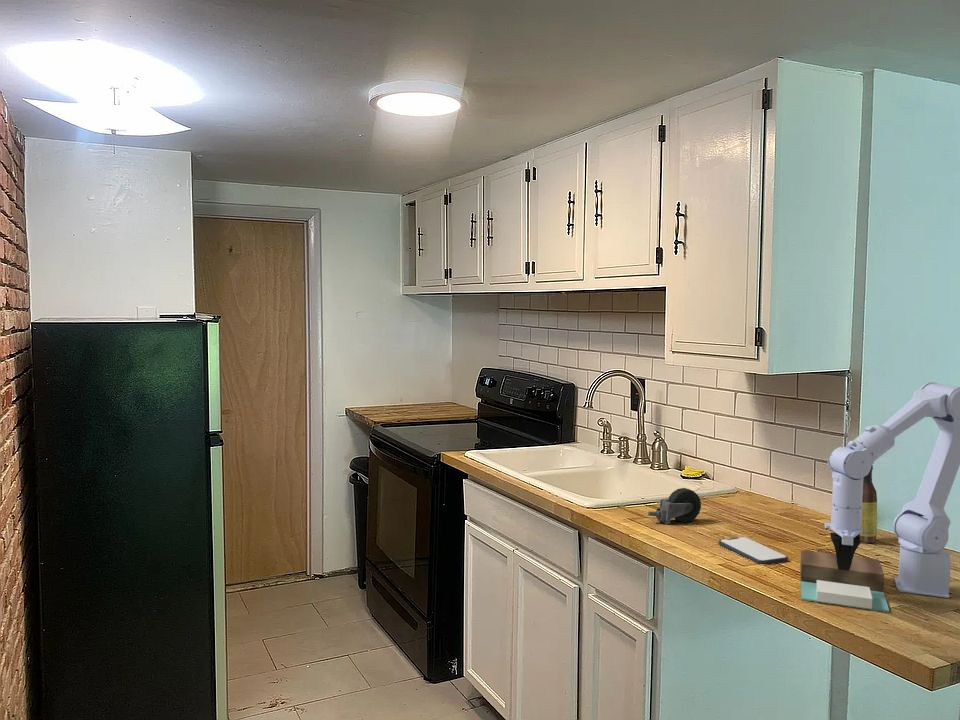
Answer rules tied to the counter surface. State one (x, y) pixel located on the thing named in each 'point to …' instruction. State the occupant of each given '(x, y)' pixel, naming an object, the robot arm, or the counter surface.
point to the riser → (827, 570)
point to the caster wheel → (678, 506)
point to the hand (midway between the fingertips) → (843, 569)
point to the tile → (844, 594)
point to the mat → (810, 595)
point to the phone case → (753, 550)
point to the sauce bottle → (869, 511)
